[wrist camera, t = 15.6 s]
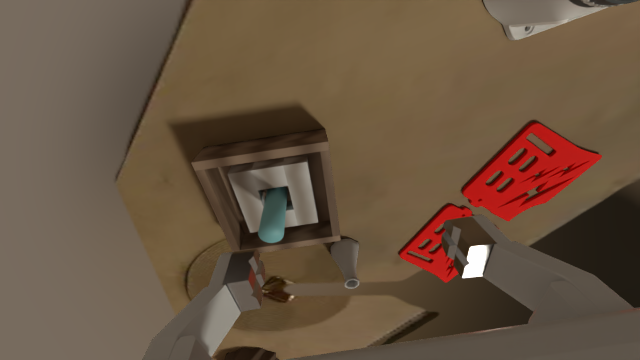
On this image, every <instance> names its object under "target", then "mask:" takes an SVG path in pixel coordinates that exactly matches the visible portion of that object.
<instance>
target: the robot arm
mask: <svg viewBox="0 0 640 360" xmlns="http://www.w3.org/2000/svg"><path fill="white" fill-rule="evenodd" d="M635 1H638V0H483V2H484V4H485V7H486V8H487V10H488V12H489V13H490V14H491V15H492V16H493V17H494V18H495V19H497V20H498V21H499V22H500V23H501V24H502V25H503V27H504V30H505V32H506V35H507V37H508V38H509V39H510V40H519V39H522V38H525V37H528V36H531V35H533V34H536V33H539V32H542V31H544V30H547V29H550V28H553V27H555V26H558V25H561V24H564V23H566V22H569V21H572V20H575V19H577V18H580V17H583V16H586V15H588V14H591V13H594V12H597V11H599V10H602V9H605V8H607V7H612V6H618V5H622V4H627V3H631V2H635ZM526 26H527V28H526V30H525V27H526ZM443 228H444V229H445V230H446V231H445V232H444V233H443V234H442V237H441V243H442V247H443V250H444V252H445V253H446V255H447V256H448V257H449V258H451V259H453V260H454V262H453V266H454V267H455V269H456V270H457V272H458V273H459V274H460V276H461V277H462V278H468V277H477V276H483V277H484V278H486V279H487V280H488V281H490V282H491V283H493V284H494V285H496V286H497V287H499V288H500V289H502V290H503V291H504V292H506V293H507V294H509V295H510V296H512V297H513V298H515V299H516V300H518V301H519V302H521V303H522V304H523V305H525V306H526V307H528V308H529V309H531V310H532V311H534V313H533V314H532V316H531V318H530V319H529V322H528V324H525V325H519V326H512V327H506V328H498V329H492V330H484V331H478V332H472V333H464V334H457V335H450V336H443V337H437V338H430V339H423V340H416V341H409V342H402V343H396V344H388V345H382V346H375V347H368V348H361V349H354V350H347V351H341V352H334V353H327V354H320V355H313V356H307V357H300V358H293V359H286V360H640V308H633V307H632V306H631V305H630V304H628V303H627V302H626V301H625V300H623V299H622V298H621V297H620V296H618V295H617V294H616V293H615V292H614V291H613V290H611V289H610V288H609V287H608V286H606V285H605V284H604V283H603V282H602V281H600V280H599V279H598V278H597V277H596V276H594V275H593V274H590V273H588V272H585V271H583V270H581V269H579V268H576V267H574V266H571V265H569V264H567V263H565V262H562V261H560V260H558V259H555V258H553V257H551V256H548V255H546V254H544V253H541V252H539V251H537V250H534V249H532V248H530V247H528V246H525V245H523V244H521V243H518V242H516V241H513V242H511V241H510V240H509V239H508V238H507V237H506V236H505V235H504V234H503V233H502V232H501V231H500V230H499V229H498V228H497V227H496V226H495V225H494V224H493V223H492V222H491V221H490V220H489V219H488V218H487V217H486V216H484V215H482V214H481V215H475V216H469V217H462V218H456V219H450V220H446V221H445V222H444V225H443ZM259 257H260V254H259V251H258V249H251V250H243V251H235V252H229V253H222V254H221V255H220V256H219V259H218V262H217V265H216V267H215V270H214V273H213V276H212V278H211V281H210V284H209V287H205V288H204V289H203V290H202V291H201V292H200V293H199V294H198V295H197V296H196V297H195V298H194V299H193V300H192V301H191V302H190V303H189V304H188V305H187V306H186V307H185V308H184V309H183V310H182V311H181V312H180V313H179V314H178V315H177V316H176V317H175V318H174V319H172V320H171V322H169V323H168V324H167V326H165V328H164V329H162V330H161V331H160V332H159V333H158V334H157V335H156V336H155V337H154V339H152V341H151V343H150V345H149V347H148V349H147V351H146V353H145V355H144V357H143V359H142V360H213V359H212V358H211V356H212V355H213V353H214V352H215V350H216V349H217V348H218V346H219V345H220V343H221V342H222V340H223V339H224V337H225V336H226V334H227V333H228V331H229V330H230V328H231V327H232V325H233V324H234V322H235V321H236V319H237V318H238V316H239V315H240V313H241V312H242V311H247V310H253V309H259V308H261V305H262V298H263V291H262V289H261V287H262V286H263V285H264V284H265V268H264V264H263V261H261V260H259Z"/></svg>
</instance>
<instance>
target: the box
mask: <svg viewBox="0 0 640 360" xmlns="http://www.w3.org/2000/svg"><path fill="white" fill-rule="evenodd" d="M191 164H192V166H193V168H194V170H195V172H196V174H197V177H198V179H199V181H200V183H201V185H202V187H203V189H204V192H205V194H206V196H207V198H208V200H209V202H210V204H211V206H212V209H213V211H214V213H215V215H216V217H217V219H218V221H219V223H220V226H221V228H222V230H223V232H224V234H225V236H226V238H227V241H228V243H229V245H230V247H231V249H232V251H233V252H235V251H243V250H251V249H258V251H259V253H262V252H269V251H276V250H282V249H289V248H296V247H302V246H309V245H316V244H322V243H329V242H335V241H341V238H340V230H339V222H338V215H337V207H336V199H335V191H334V183H333V175H332V167H331V159H330V151H329V143H328V138H327V134H326V131H325V129H319V130H313V131H306V132H300V133H293V134H287V135H280V136H274V137H268V138H261V139H255V140H248V141H242V142H235V143H229V144H222V145H216V146H210V147H204V148H203V149H202V150H201V151H200V152H199V154H198V155H197V156H196V157H195V158H194V160H193V161H192V162H191ZM283 186H285V187H286V188H287V191H288V192H287V204H286V216H285V228H284V236H283V238H282V239H281V240H280V241H278V242H275V243H267V242H265V241H263V240H261V239H260V237H259V236H258V230H259V226H260V221H261V216H262V212H263V207H264V203H265V198H266V193H267V189H270V188H276V187H283Z"/></svg>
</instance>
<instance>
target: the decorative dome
mask: <svg viewBox="0 0 640 360" xmlns="http://www.w3.org/2000/svg"><path fill="white" fill-rule="evenodd" d="M225 360H279V359H278V358H276V353H275V352H269V351H266V350H264V349H263V348H254V349H249V348H241V349H239V350H238V351H236V352H230V353H227V355H226V357H225Z"/></svg>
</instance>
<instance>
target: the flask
mask: <svg viewBox="0 0 640 360" xmlns="http://www.w3.org/2000/svg"><path fill="white" fill-rule="evenodd" d="M358 249H359V243H358V242H356V241H354V240H352V239H350V238H348V239H341V241H336V242H335V243H334V244H333V245H332V246H331V256H332V257H333V259H334V260H335V262H336V263H337V265H338V266H339V268H340V269H341V271H342V273H343V276H344V278H345V287H347V288H349V289H350V288H356V287H357V286H358V285H359V279H357V275H356V263H357V257H358Z"/></svg>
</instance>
